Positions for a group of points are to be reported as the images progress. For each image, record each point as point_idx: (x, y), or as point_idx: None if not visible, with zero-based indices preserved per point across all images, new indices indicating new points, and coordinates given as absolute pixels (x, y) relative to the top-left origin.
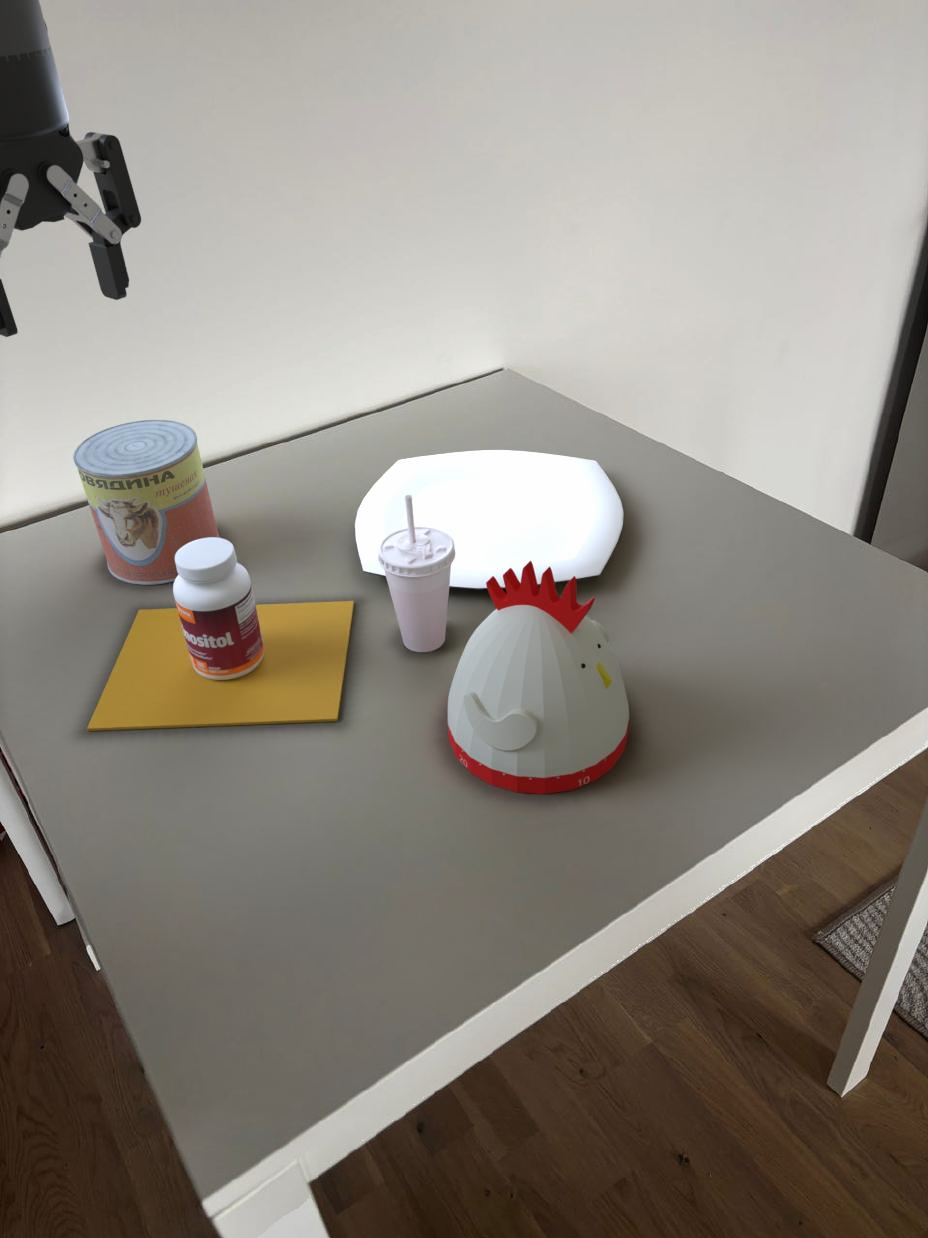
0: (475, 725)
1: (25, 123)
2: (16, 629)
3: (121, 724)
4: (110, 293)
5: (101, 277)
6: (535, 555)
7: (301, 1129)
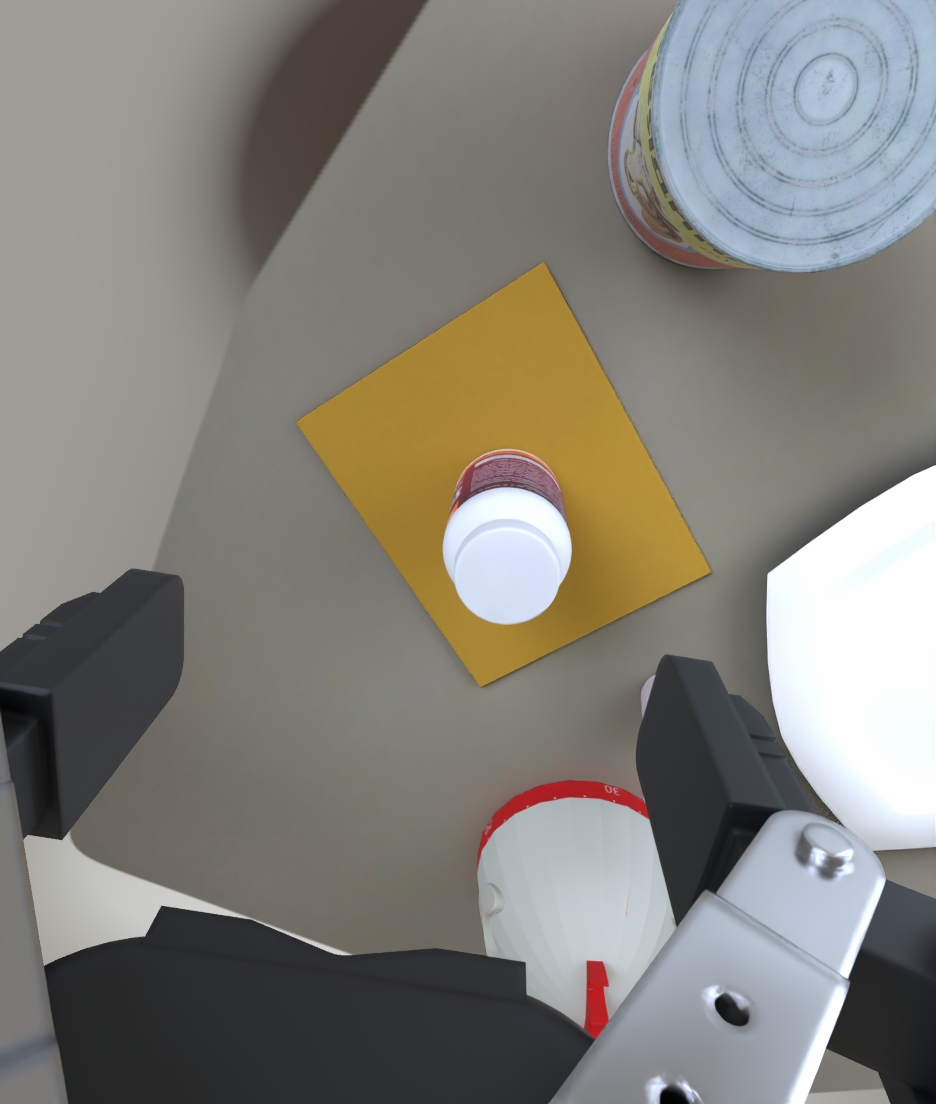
0: (484, 891)
1: None
2: (396, 73)
3: (327, 459)
4: (648, 720)
5: (674, 720)
6: (909, 750)
7: (129, 874)
